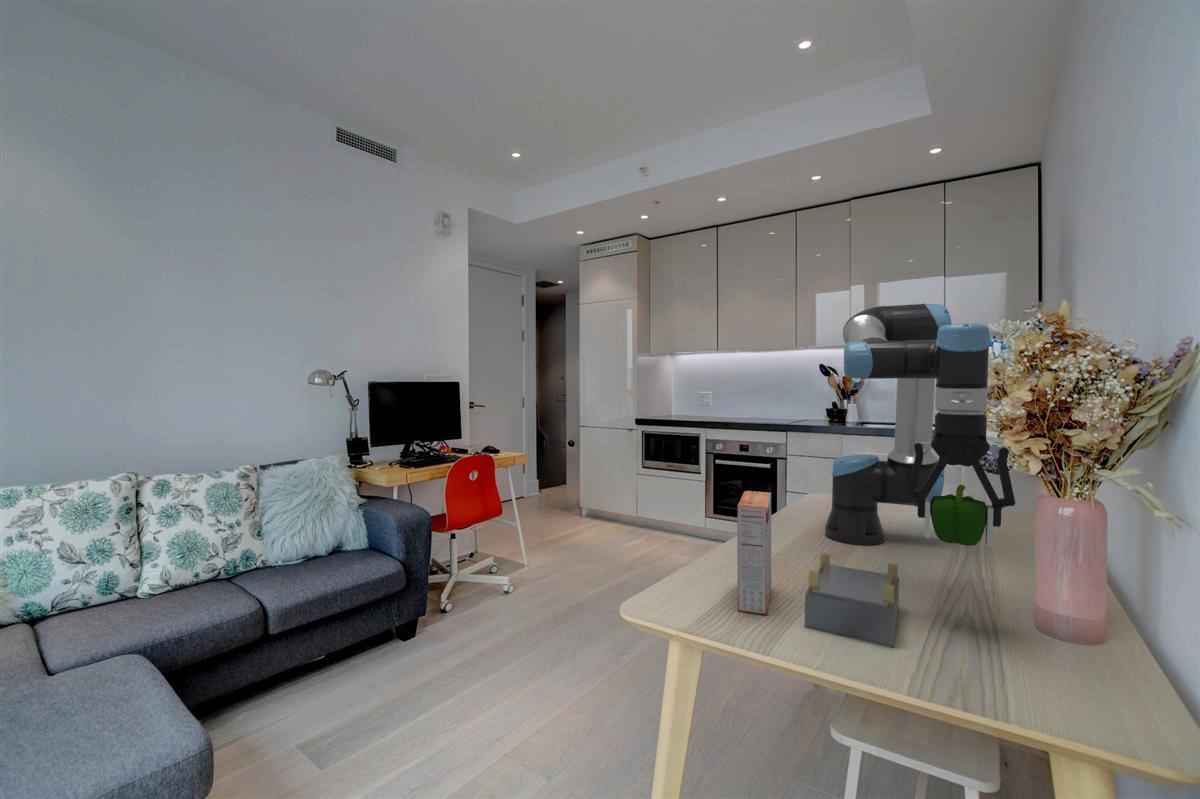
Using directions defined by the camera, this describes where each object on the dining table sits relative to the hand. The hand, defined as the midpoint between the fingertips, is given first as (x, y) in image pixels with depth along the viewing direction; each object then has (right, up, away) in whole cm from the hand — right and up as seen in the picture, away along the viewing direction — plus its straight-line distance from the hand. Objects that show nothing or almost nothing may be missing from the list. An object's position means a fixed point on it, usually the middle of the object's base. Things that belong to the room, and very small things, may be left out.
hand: (957, 539), depth 93 cm
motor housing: (-15, -16, +7) cm, 23 cm away
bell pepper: (0, -1, 0) cm, 1 cm away
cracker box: (-32, -16, +13) cm, 38 cm away
